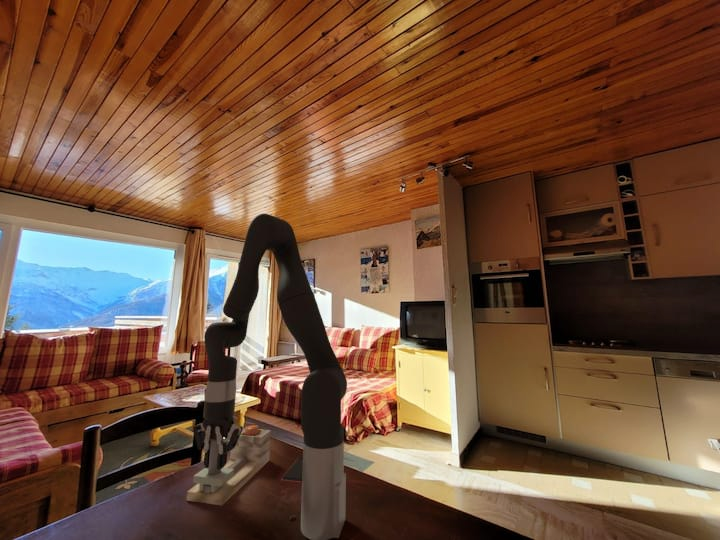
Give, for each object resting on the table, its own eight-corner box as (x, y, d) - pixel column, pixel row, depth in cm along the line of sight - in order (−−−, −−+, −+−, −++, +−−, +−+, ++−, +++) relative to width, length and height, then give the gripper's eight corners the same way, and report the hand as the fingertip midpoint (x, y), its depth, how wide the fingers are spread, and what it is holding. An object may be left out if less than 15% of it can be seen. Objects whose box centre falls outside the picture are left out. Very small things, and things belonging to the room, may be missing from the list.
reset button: (260, 435, 93) (261, 425, 93) (253, 440, 89) (254, 430, 89) (249, 434, 93) (249, 424, 94) (242, 439, 89) (242, 429, 90)
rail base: (269, 460, 92) (270, 430, 93) (222, 505, 69) (225, 464, 71) (240, 457, 94) (243, 427, 95) (186, 500, 71) (190, 460, 73)
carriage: (233, 482, 75) (236, 436, 77) (220, 493, 71) (224, 444, 72) (206, 478, 77) (210, 434, 79) (192, 489, 72) (196, 441, 74)
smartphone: (319, 458, 93) (303, 482, 79) (319, 460, 93) (303, 484, 79) (298, 456, 94) (279, 479, 80) (298, 458, 94) (279, 481, 80)
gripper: (251, 395, 80) (247, 463, 77) (207, 392, 82) (201, 458, 79) (235, 402, 72) (229, 478, 69) (187, 399, 75) (179, 472, 72)
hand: (214, 467), depth 74 cm, fingers closed on carriage, 3 cm apart
